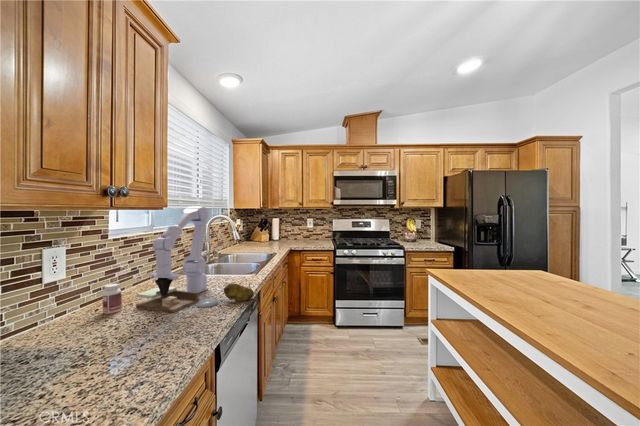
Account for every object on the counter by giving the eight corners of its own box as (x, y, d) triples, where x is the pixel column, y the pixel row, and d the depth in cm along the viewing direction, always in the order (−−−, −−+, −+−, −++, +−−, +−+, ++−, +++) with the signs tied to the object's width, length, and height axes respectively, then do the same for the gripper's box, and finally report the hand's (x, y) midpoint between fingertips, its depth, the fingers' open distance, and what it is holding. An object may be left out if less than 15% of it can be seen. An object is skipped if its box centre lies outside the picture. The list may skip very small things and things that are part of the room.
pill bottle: (124, 307, 113) (123, 282, 113) (118, 313, 107) (117, 286, 107) (107, 309, 111) (106, 283, 111) (99, 315, 105) (99, 288, 105)
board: (164, 296, 127) (164, 287, 127) (199, 301, 120) (198, 292, 120) (136, 307, 113) (136, 297, 113) (173, 312, 107) (173, 302, 107)
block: (170, 305, 116) (170, 296, 116) (177, 306, 114) (176, 297, 114) (162, 308, 112) (162, 299, 112) (169, 309, 111) (169, 300, 111)
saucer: (206, 299, 122) (206, 297, 122) (222, 301, 119) (222, 299, 119) (191, 306, 114) (191, 304, 114) (208, 308, 111) (208, 306, 111)
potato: (250, 303, 117) (250, 285, 117) (221, 304, 116) (221, 286, 116) (254, 297, 125) (254, 280, 125) (227, 297, 125) (227, 281, 124)
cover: (162, 288, 126) (162, 283, 126) (176, 290, 123) (176, 285, 123) (136, 296, 114) (136, 291, 114) (151, 298, 111) (151, 293, 111)
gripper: (143, 265, 114) (143, 296, 114) (168, 267, 109) (169, 299, 109) (157, 262, 120) (158, 291, 121) (182, 263, 116) (182, 294, 116)
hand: (164, 294), depth 115 cm, fingers closed
